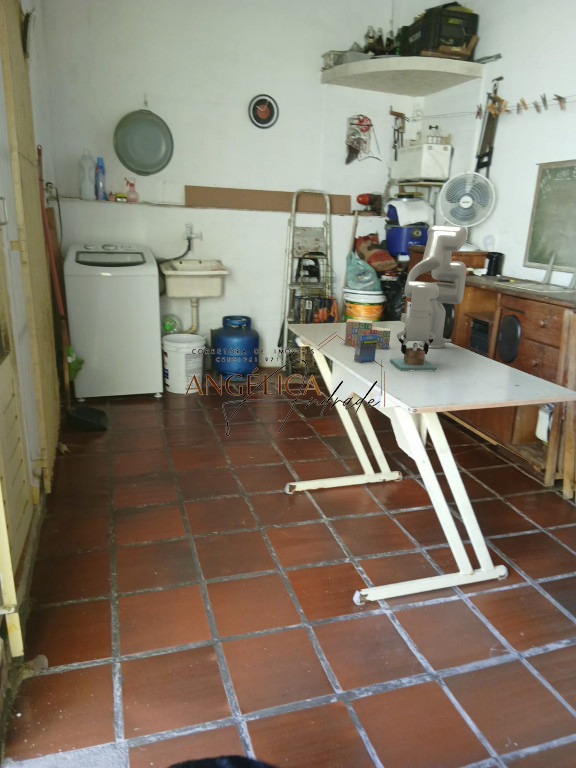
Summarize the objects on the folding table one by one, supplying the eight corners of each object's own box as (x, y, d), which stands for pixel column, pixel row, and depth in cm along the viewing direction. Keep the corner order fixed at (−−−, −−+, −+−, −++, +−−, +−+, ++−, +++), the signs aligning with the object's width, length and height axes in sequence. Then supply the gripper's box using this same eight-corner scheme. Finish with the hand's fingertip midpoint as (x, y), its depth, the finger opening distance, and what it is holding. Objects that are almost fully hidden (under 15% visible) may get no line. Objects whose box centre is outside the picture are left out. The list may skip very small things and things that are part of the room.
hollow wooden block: (417, 360, 242) (419, 347, 241) (423, 365, 236) (425, 351, 234) (403, 360, 242) (404, 347, 240) (408, 365, 235) (410, 351, 234)
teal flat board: (424, 361, 247) (424, 358, 247) (436, 370, 234) (437, 367, 234) (389, 361, 245) (390, 358, 244) (400, 370, 231) (401, 367, 231)
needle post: (414, 362, 240) (416, 342, 237) (416, 363, 238) (418, 343, 235) (410, 362, 240) (412, 342, 237) (411, 363, 238) (414, 343, 235)
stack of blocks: (389, 347, 272) (391, 322, 269) (388, 349, 267) (391, 324, 263) (346, 342, 277) (347, 318, 273) (344, 345, 271) (346, 320, 267)
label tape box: (369, 358, 249) (372, 331, 245) (375, 360, 245) (377, 333, 241) (353, 360, 244) (356, 333, 241) (359, 362, 241) (361, 335, 237)
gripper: (434, 312, 237) (429, 351, 242) (396, 312, 235) (392, 351, 240) (442, 316, 230) (436, 355, 235) (402, 315, 227) (397, 355, 233)
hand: (414, 353), depth 238 cm, fingers open, 9 cm apart
